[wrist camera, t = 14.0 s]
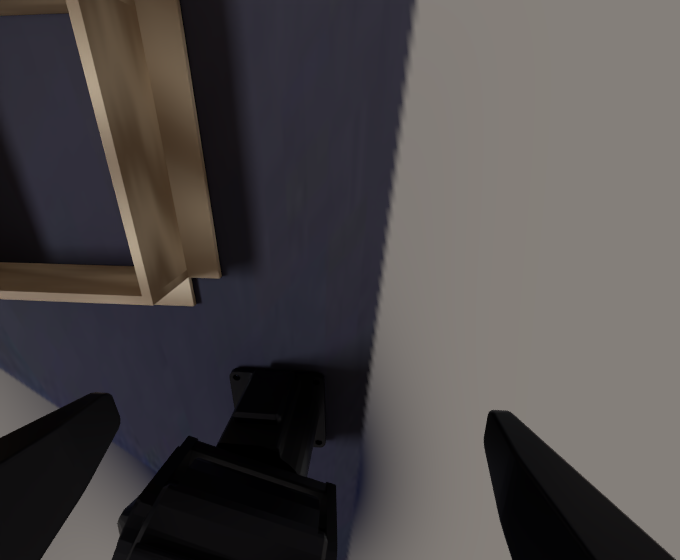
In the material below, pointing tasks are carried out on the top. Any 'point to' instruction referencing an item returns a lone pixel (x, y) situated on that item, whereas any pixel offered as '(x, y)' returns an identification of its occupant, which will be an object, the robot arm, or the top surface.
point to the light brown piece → (135, 157)
